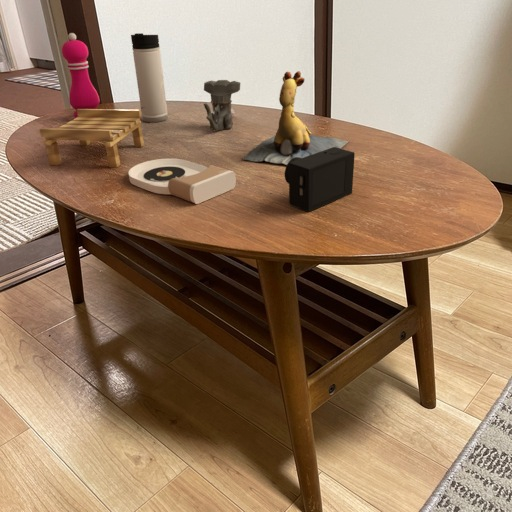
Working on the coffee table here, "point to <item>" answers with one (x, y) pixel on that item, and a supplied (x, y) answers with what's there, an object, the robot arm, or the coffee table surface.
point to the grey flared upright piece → (220, 103)
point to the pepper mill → (79, 75)
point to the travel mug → (149, 77)
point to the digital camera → (320, 178)
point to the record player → (182, 179)
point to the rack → (96, 132)
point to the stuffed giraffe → (291, 132)
